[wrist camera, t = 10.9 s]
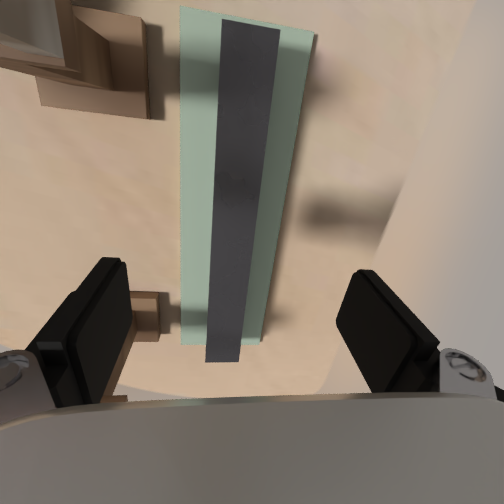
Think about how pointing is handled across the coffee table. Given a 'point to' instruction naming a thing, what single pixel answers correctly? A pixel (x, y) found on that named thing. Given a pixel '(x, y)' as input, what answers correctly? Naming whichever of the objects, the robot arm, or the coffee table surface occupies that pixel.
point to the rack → (85, 92)
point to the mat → (203, 164)
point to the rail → (237, 176)
